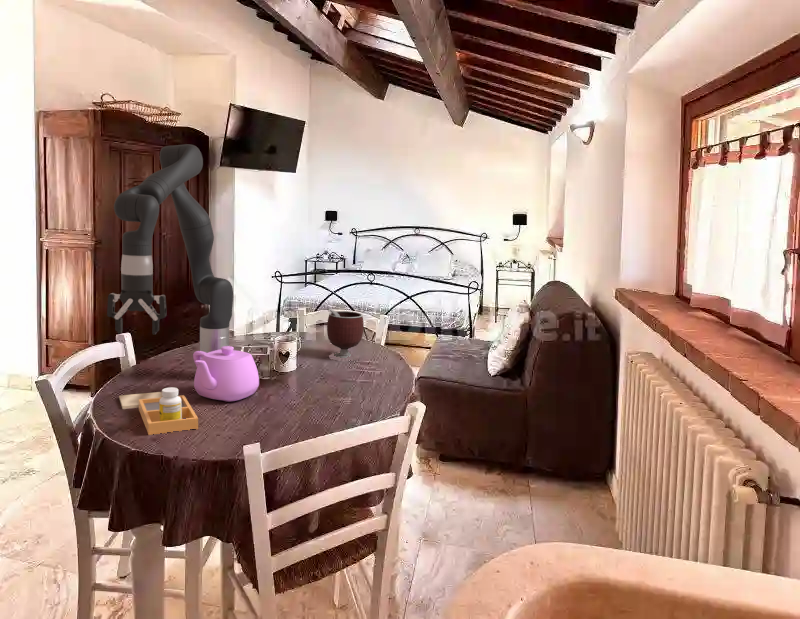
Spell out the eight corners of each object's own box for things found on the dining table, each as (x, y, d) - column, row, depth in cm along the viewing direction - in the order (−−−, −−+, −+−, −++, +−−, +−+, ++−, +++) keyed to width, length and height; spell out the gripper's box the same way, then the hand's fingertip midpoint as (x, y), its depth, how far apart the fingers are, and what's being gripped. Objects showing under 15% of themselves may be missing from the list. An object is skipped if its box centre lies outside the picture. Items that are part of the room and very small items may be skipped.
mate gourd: (347, 351, 255) (349, 302, 251) (369, 359, 245) (371, 308, 241) (315, 356, 244) (317, 305, 241) (337, 364, 234) (339, 311, 231)
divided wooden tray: (184, 405, 182) (184, 395, 181) (198, 429, 164) (198, 418, 164) (138, 409, 176) (138, 399, 175) (148, 435, 159) (148, 423, 158)
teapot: (211, 382, 205) (211, 336, 202) (266, 392, 197) (267, 345, 195) (160, 401, 184) (159, 350, 181) (220, 414, 176) (220, 361, 174)
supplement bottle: (162, 421, 168) (162, 386, 167) (183, 422, 169) (183, 386, 167) (156, 429, 163) (156, 392, 161) (178, 429, 163) (178, 393, 162)
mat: (162, 394, 190) (162, 391, 190) (168, 404, 181) (168, 401, 181) (119, 398, 184) (119, 395, 184) (122, 409, 176) (122, 406, 176)
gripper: (168, 271, 170) (168, 331, 172) (111, 269, 167) (112, 329, 170) (163, 275, 162) (163, 337, 165) (103, 272, 160) (104, 335, 162)
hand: (137, 333), depth 167 cm, fingers open, 8 cm apart
